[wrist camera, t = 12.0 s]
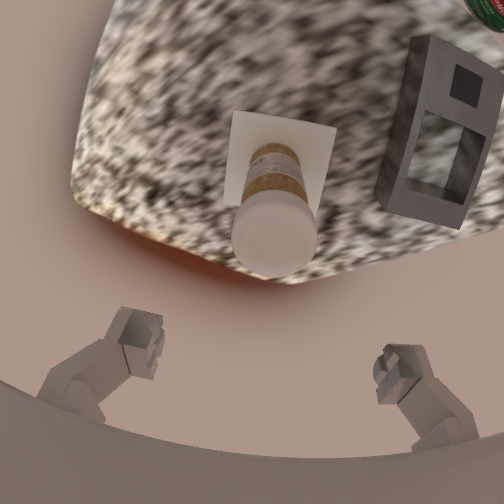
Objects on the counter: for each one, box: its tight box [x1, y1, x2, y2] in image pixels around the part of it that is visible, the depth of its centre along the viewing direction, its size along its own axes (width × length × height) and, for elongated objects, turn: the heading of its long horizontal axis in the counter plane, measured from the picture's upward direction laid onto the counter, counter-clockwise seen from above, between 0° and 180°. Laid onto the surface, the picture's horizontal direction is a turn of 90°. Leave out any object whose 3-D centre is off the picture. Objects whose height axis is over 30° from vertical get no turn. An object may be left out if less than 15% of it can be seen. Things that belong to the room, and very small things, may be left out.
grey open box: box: [374, 35, 504, 230], centre depth 22 cm, size 16×9×4 cm, turn 172°
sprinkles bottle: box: [231, 143, 318, 277], centre depth 22 cm, size 5×5×13 cm
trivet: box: [222, 110, 337, 218], centre depth 27 cm, size 9×9×1 cm
